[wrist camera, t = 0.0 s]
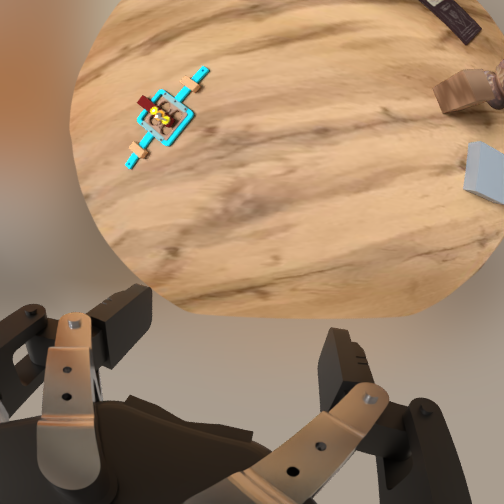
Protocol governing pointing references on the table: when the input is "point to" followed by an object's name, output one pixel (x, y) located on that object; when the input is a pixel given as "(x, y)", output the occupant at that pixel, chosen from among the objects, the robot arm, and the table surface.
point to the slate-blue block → (485, 172)
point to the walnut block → (463, 90)
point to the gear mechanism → (164, 116)
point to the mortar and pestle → (497, 86)
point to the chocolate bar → (454, 18)
